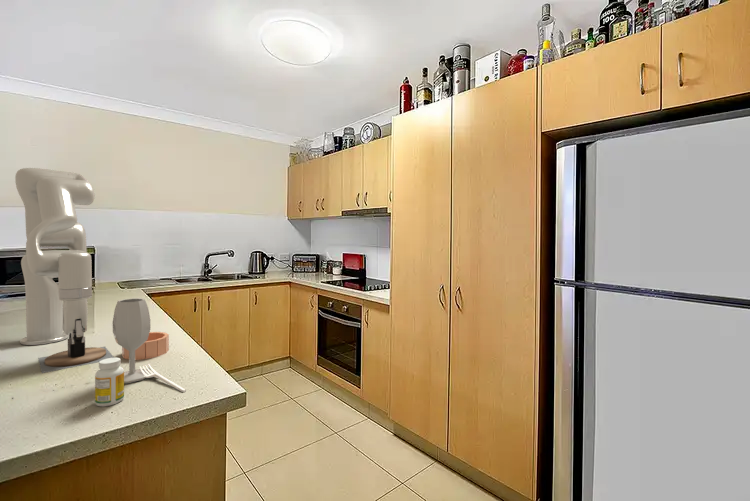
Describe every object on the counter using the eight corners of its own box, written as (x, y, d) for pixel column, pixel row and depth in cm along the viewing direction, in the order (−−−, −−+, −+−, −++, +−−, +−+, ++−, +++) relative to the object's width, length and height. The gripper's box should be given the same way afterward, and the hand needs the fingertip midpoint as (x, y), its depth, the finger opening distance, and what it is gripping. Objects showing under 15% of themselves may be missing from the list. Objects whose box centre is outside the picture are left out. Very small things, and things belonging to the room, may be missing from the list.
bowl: (118, 355, 112) (118, 336, 111) (161, 347, 120) (161, 329, 120) (128, 365, 103) (127, 345, 103) (173, 356, 112) (173, 337, 112)
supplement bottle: (98, 409, 78) (97, 366, 77) (92, 401, 81) (91, 360, 81) (127, 401, 82) (127, 360, 81) (120, 394, 85) (120, 354, 85)
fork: (177, 395, 86) (178, 388, 86) (137, 373, 96) (137, 366, 96) (190, 391, 88) (191, 383, 88) (150, 369, 99) (150, 363, 99)
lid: (42, 357, 106) (42, 337, 105) (101, 347, 116) (101, 329, 115) (46, 370, 96) (46, 349, 96) (110, 358, 106) (110, 338, 106)
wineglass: (158, 375, 97) (158, 299, 96) (125, 387, 89) (124, 304, 88) (138, 369, 101) (137, 296, 100) (104, 380, 93) (103, 301, 92)
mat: (38, 361, 106) (38, 357, 105) (105, 349, 117) (105, 346, 117) (42, 376, 94) (41, 373, 94) (115, 362, 106) (115, 358, 106)
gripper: (56, 291, 108) (57, 350, 109) (61, 299, 96) (63, 365, 97) (87, 289, 113) (88, 345, 114) (96, 296, 102) (97, 358, 103)
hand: (76, 353), depth 106 cm, fingers closed on lid, 4 cm apart
